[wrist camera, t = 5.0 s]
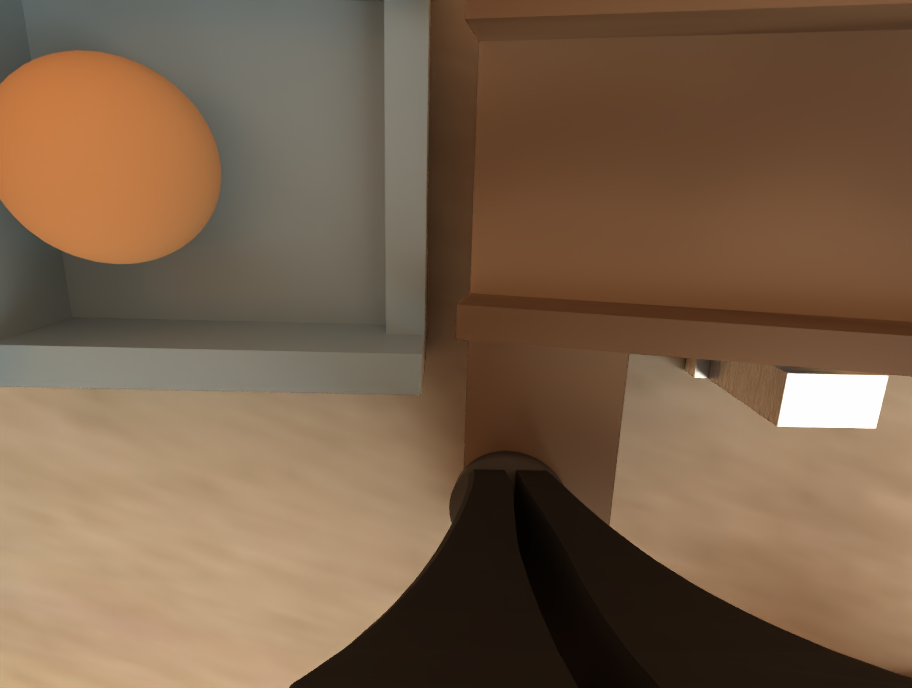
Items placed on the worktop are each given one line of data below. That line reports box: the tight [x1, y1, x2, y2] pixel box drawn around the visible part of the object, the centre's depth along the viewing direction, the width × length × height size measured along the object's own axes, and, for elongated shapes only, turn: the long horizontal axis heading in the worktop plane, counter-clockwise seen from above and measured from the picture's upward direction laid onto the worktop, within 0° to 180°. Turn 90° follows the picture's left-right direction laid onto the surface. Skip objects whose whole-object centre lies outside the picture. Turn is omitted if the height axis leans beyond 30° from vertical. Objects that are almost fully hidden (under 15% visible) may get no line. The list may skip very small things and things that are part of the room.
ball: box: [0, 50, 221, 264], centre depth 10 cm, size 4×4×4 cm
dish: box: [0, 0, 431, 395], centre depth 10 cm, size 8×9×4 cm
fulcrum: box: [685, 358, 889, 428], centre depth 10 cm, size 8×2×3 cm, turn 178°
